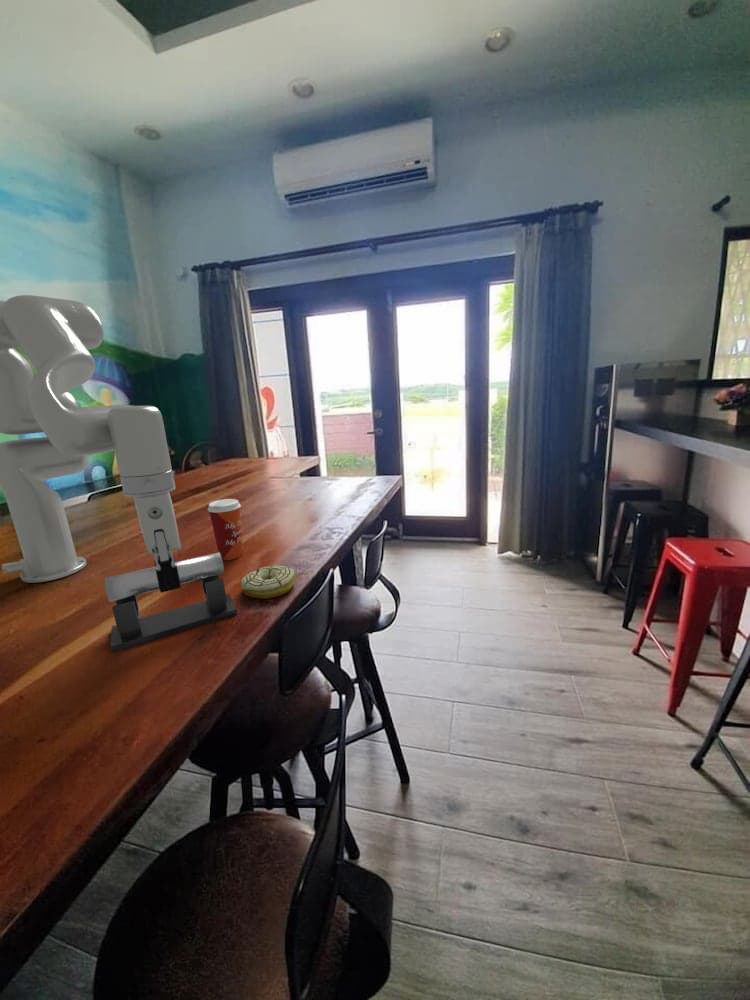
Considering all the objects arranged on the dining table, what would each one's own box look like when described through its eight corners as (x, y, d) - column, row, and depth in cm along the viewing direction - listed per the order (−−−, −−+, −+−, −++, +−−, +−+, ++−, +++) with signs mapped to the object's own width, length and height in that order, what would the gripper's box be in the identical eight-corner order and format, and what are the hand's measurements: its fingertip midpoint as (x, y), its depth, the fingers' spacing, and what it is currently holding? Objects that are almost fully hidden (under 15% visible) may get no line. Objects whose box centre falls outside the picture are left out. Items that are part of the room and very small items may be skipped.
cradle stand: (111, 652, 66) (101, 611, 64) (113, 631, 72) (103, 593, 70) (237, 614, 75) (231, 577, 73) (229, 598, 81) (224, 564, 79)
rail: (109, 605, 66) (104, 583, 65) (110, 596, 69) (105, 574, 68) (225, 576, 74) (221, 555, 73) (221, 569, 77) (217, 549, 76)
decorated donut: (253, 578, 90) (251, 562, 89) (301, 577, 89) (299, 561, 88) (235, 602, 80) (232, 584, 79) (288, 601, 79) (286, 584, 78)
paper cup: (237, 562, 98) (229, 507, 94) (209, 561, 100) (199, 506, 96) (253, 550, 105) (246, 498, 102) (226, 548, 107) (218, 497, 103)
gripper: (179, 489, 61) (199, 597, 66) (169, 472, 75) (187, 562, 80) (121, 497, 58) (147, 611, 63) (123, 478, 72) (144, 572, 77)
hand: (169, 583), depth 71 cm, fingers closed on rail, 4 cm apart
